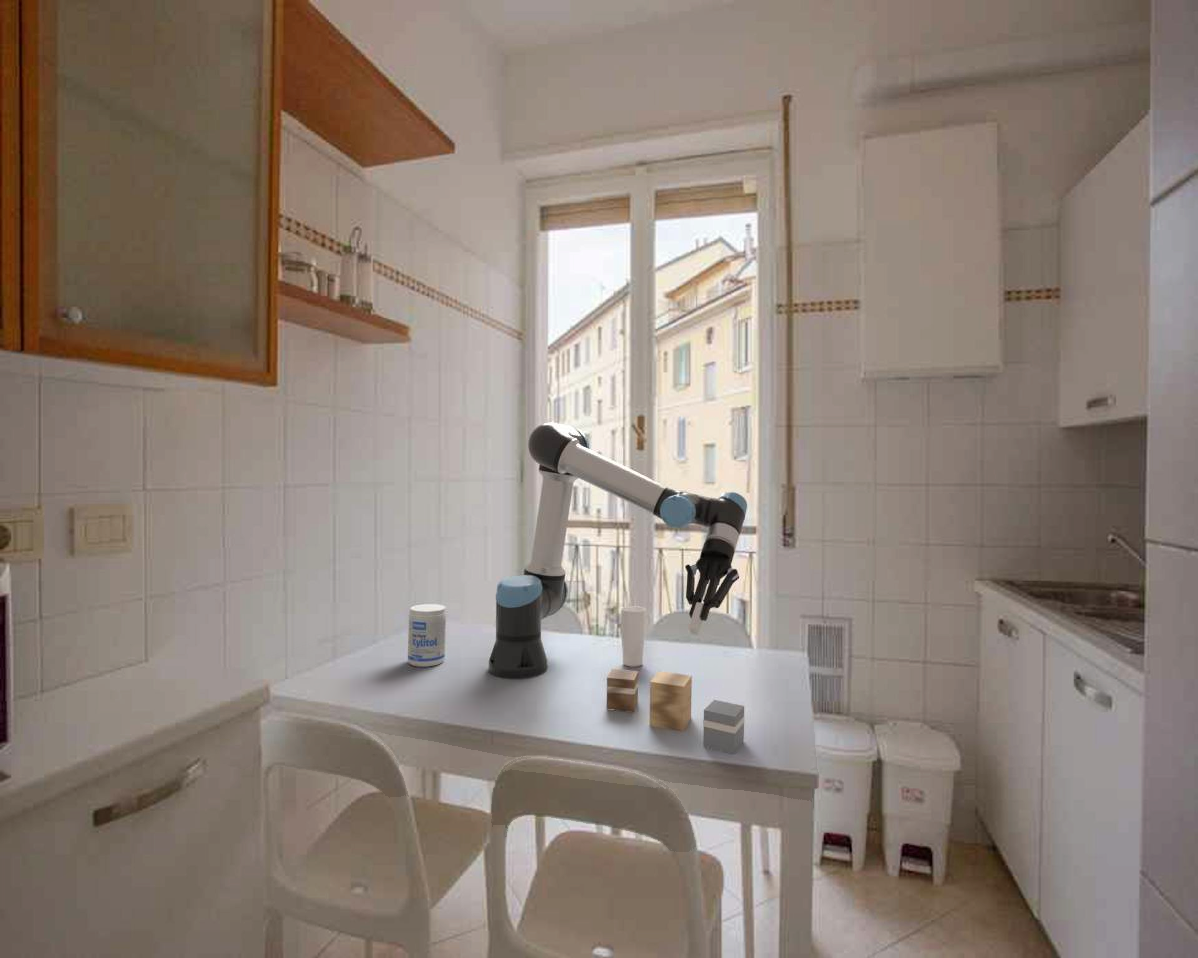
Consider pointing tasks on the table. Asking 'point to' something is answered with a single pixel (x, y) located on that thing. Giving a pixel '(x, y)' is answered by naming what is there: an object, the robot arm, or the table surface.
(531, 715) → the table surface
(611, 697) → the walnut block
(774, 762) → the table surface
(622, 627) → the drinking glass
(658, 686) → the oak block
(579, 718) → the table surface
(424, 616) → the supplement tub
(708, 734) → the grey block
